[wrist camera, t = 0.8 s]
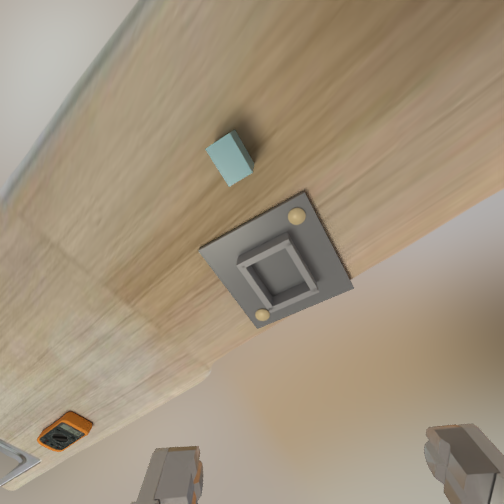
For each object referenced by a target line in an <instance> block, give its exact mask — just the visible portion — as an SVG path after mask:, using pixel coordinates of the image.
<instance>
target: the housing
mask: <svg viewBox="0 0 504 504" xmlns="http://www.w3.org/2000/svg"><path fill="white" fill-rule="evenodd" d="M198 251H199V253H200V254H201V255H202V256H203V258H204V259H205V260H206V262H207V263H208V264H209V266H210V267H211V268H212V270H213V271H214V272H215V274H216V275H217V276H218V278H219V279H220V280H221V281H222V283H223V284H224V285H225V287H226V288H227V289H228V291H229V292H230V293H231V295H232V296H233V297H234V299H235V300H236V301H237V303H238V304H239V305H240V307H241V308H242V309H243V310H244V312H245V313H246V314H247V316H248V317H249V318H250V320H251V321H252V322H253V324H254V325H255V326H256V328H257V329H258V328H261V327H263V326H265V325H268V324H270V323H272V322H275V321H277V320H280V319H282V318H284V317H287V316H289V315H292V314H294V313H296V312H299V311H301V310H303V309H306V308H308V307H310V306H313V305H315V304H318V303H320V302H323V301H325V300H327V299H329V298H332V297H334V296H337V295H339V294H342V293H344V292H346V291H349V290H351V289H354V287H353V285H352V283H351V281H350V279H349V277H348V275H347V273H346V271H345V269H344V267H343V266H342V264H341V262H340V260H339V258H338V256H337V254H336V252H335V250H334V248H333V246H332V244H331V242H330V240H329V238H328V236H327V235H326V233H325V231H324V229H323V227H322V225H321V223H320V221H319V219H318V217H317V215H316V213H315V211H314V209H313V207H312V205H311V204H310V202H309V200H308V198H307V196H306V194H305V192H304V191H302V192H300V193H299V194H297V195H295V196H293V197H291V198H289V199H288V200H286V201H284V202H282V203H280V204H279V205H277V206H275V207H273V208H271V209H269V210H268V211H266V212H264V213H262V214H260V215H258V216H257V217H255V218H253V219H251V220H249V221H248V222H246V223H244V224H242V225H240V226H238V227H237V228H235V229H233V230H231V231H229V232H228V233H226V234H224V235H222V236H220V237H218V238H217V239H215V240H213V241H211V242H209V243H208V244H206V245H204V246H202V247H200V248H199V250H198Z"/></svg>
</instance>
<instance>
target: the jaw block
mask: <svg viewBox="0 0 504 504" xmlns="http://www.w3.org/2000/svg"><path fill="white" fill-rule="evenodd" d="M205 150H206V151H207V153H208V154H209V156H210V157H211V159H212V161H213V162H214V164H215V165H216V167H217V169H218V170H219V172H220V173H221V175H222V176H223V178H224V180H225V181H226V183H227V184H228V186H229V187H230V186H231V185H233V184H235V183H236V182H238V181H240V180H241V179H243V178H244V177H246V176H248V175H249V174H251V173H253V169H254V162H253V160H252V159H251V157H250V155H249V153H248V152H247V150H246V148H245V146H244V145H243V143H242V141H241V139H240V138H239V136H238V134H237V132H236V131H235V130H233V131H232V132H230V133H228V134H227V135H225V136H224V137H222V138H221V139H219V140H218V141H216V142H215V143H213V144H212V145H210V146H209V147H207V148H206V149H205Z"/></svg>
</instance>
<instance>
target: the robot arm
mask: <svg viewBox="0 0 504 504" xmlns="http://www.w3.org/2000/svg"><path fill="white" fill-rule="evenodd" d="M426 436H427V437H428V439H429V441H428V442H427V443H426V444H425V447H424V454H425V458H426V462H427V464H428V466H429V469H430V470H431V472H432V474H433V476H434V477H435V478H436V479H437V480H439V481H440V482H442V483H443V484H444V493H445V495H446V497H447V498H448V500H449V502H450V503H451V504H504V455H503V454H502V453H501V452H500V451H499V450H498V449H497V448H496V446H495V445H494V444H493V443H492V442H491V441H490V440H489V439H488V438H487V437H486V436H485V434H484V433H483V432H482V431H481V430H480V429H479V428H478V427H477V426H476V425H474V424H461V425H446V426H435V427H429V428H428V429H427V431H426ZM199 457H200V450H199V446H190V447H170V448H156V449H155V451H154V453H153V454H152V457H151V460H150V463H149V466H148V469H147V472H146V475H145V478H144V481H143V484H142V487H141V490H140V493H139V496H138V498H137V501H136V502H132V503H131V504H198V503H197V501H198V500H199V498H200V497H201V494H202V487H203V466H202V462H201V461H200V460H199Z"/></svg>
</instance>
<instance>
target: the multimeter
mask: <svg viewBox="0 0 504 504" xmlns="http://www.w3.org/2000/svg"><path fill="white" fill-rule="evenodd" d="M91 428H92V423H91V422H90V421H88V420H86V419H85V418H83V417H81V416H79V415H77V414H76V413H74V412H68V413H66V414H65V415H64V416H63V417H61V418H60V419H59V420H58V421H56V422H55V423H54V424H52V425H51V426H49V427H48V428H46V429H45V430H43V431H42V433H41V434H40V435H39V437H38V438H37V441H38V443H39V444H41V445H42V446H44V447H46V448H48V449H50V450H52V451H57V452H61V451H64V450H65V449H66V448H68V447H69V446H70V445H72V444H73V443H75V442H76V441H78V440H79V439H81V438H83V437H84V436H86V435H88V433H89V432H90V430H91Z"/></svg>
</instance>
